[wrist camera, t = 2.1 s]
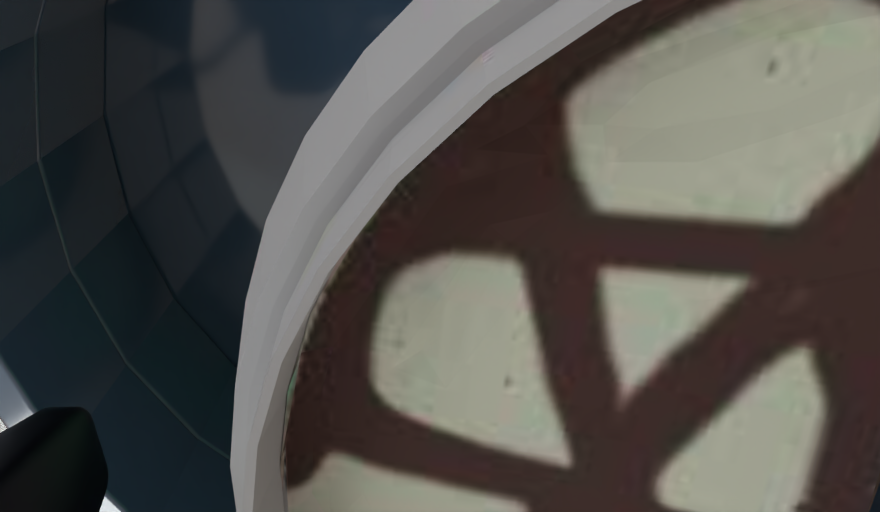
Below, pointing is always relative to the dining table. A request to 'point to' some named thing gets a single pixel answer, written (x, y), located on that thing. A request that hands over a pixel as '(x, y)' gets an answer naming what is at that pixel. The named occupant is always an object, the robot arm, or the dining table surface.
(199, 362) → the pot
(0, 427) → the dining table surface
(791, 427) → the food container
